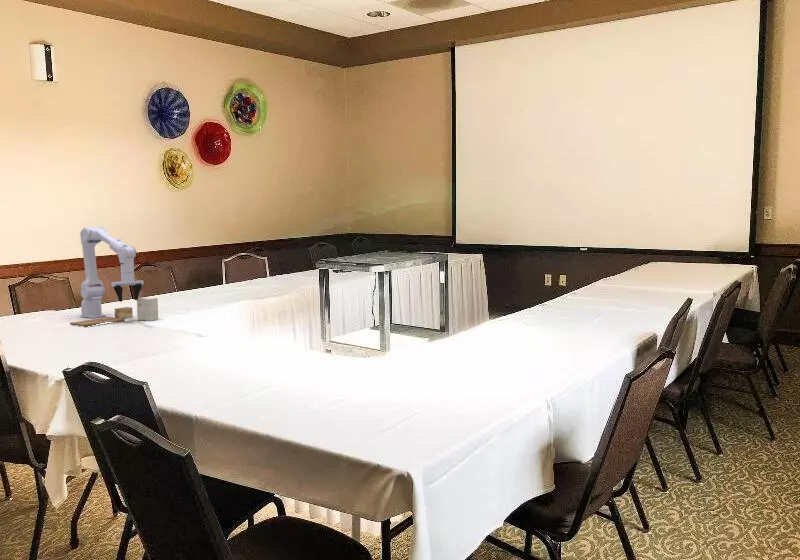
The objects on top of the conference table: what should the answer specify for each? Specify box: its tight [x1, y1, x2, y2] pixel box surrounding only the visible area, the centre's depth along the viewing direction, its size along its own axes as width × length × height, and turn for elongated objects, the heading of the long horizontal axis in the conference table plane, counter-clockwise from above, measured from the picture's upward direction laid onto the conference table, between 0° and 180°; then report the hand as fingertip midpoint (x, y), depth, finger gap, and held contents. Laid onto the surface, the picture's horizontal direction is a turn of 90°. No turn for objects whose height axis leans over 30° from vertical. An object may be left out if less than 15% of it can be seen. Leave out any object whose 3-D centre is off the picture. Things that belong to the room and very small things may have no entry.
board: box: [69, 316, 126, 328], centre depth 305 cm, size 12×20×1 cm, turn 149°
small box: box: [136, 296, 159, 321], centre depth 315 cm, size 8×6×10 cm
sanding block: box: [114, 306, 134, 320], centre depth 320 cm, size 4×7×5 cm, turn 149°
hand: (128, 300), depth 309 cm, fingers open, 7 cm apart
